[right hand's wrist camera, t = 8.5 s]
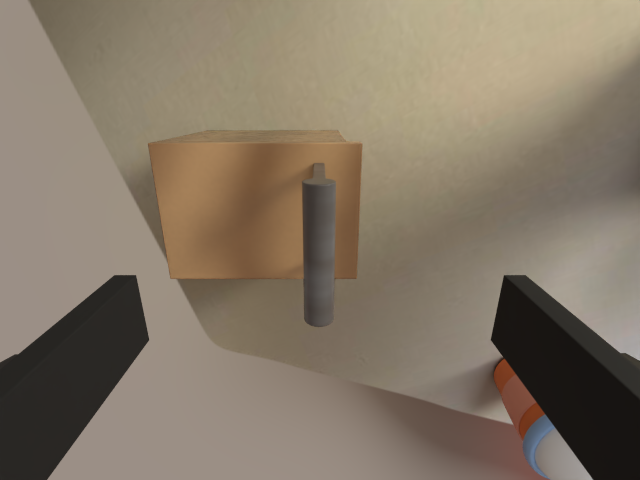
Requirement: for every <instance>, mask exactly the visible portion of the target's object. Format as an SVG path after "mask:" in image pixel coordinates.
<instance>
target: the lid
mask: <svg viewBox="0 0 640 480" xmlns="http://www.w3.org/2000/svg"><path fill="white" fill-rule="evenodd" d="M148 147H149V153H150V159H151V165H152V171H153V177H154V183H155V189H156V195H157V201H158V207H159V213H160V219H161V225H162V231H163V237H164V243H165V249H166V255H167V261H168V267H169V273H170V278H171V279H304V319H305V321H306V323H307V324H309V325H311V326H315V327H323V326H327V325H329V324H331V323H332V322H333V320H334V280H335V279H356V278H357V260H358V235H359V211H360V186H361V162H362V143H361V142H152V143H148Z"/></svg>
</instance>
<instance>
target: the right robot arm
mask: <svg viewBox="0 0 640 480" xmlns="http://www.w3.org/2000/svg"><path fill="white" fill-rule="evenodd" d="M148 341H149V337H148V332H147V327H146V322H145V317H144V312H143V307H142V303H141V298H140V293H139V288H138V283H137V278H136V275H115V276H113V277H112V278H111V279H109V280H108V281H107V282H106V283H105V284H103V285H102V286H101V287H100V288H98V289H97V290H96V291H95V292H94V293H92V294H91V295H90V296H89V297H88V298H86V299H85V300H84V301H83V302H81V303H80V304H79V305H78V306H77V307H75V308H74V309H73V310H72V311H71V312H69V313H68V314H67V315H66V316H64V317H63V318H62V319H61V320H60V321H58V322H57V323H56V324H55V325H53V326H52V327H51V328H50V329H49V330H47V331H46V332H45V333H44V334H43V335H41V336H40V337H39V338H38V339H36V340H35V341H34V342H33V343H32V344H30V345H29V346H28V347H27V348H26V349H24V350H23V351H22V352H21V353H19V354H18V355H13V356H11V357H9V358H8V359H6V360H4V361H2V362H0V480H47V479H48V477H49V476H50V475H51V473H52V472H53V471H54V469H55V468H56V467H57V465H58V464H59V462H60V461H61V460H62V458H63V457H64V456H65V454H66V453H67V451H68V450H69V449H70V448H71V446H72V445H73V443H74V442H75V441H76V439H77V438H78V437H79V435H80V434H81V432H82V431H83V430H84V428H85V427H86V426H87V424H88V423H89V422H90V420H91V419H92V417H93V416H94V415H95V413H96V412H97V411H98V409H99V408H100V406H101V405H102V404H103V402H104V401H105V400H106V398H107V397H108V396H109V394H110V393H111V391H112V390H113V389H114V387H115V386H116V385H117V383H118V382H119V381H120V379H121V378H122V376H123V375H124V374H125V372H126V371H127V370H128V368H129V367H130V365H131V364H132V363H133V361H134V360H135V359H136V357H137V356H138V355H139V353H140V352H141V350H142V349H143V348H144V346H145V345H146V344H147V342H148ZM491 341H492V342H493V344H494V345H495V346H496V348H497V349H498V350H499V352H500V353H501V355H502V356H503V357H504V359H505V360H506V361H507V363H508V364H509V365H510V367H511V368H512V370H513V371H514V372H515V374H516V375H517V376H518V378H519V379H520V381H521V382H522V383H523V385H524V386H525V387H526V389H527V390H528V391H529V393H530V394H531V396H532V397H533V398H534V400H535V401H536V402H537V404H538V405H539V406H540V408H541V409H542V411H543V412H544V413H545V415H546V416H547V417H548V419H549V420H550V422H551V423H552V424H553V426H554V427H555V428H556V430H557V431H558V432H559V434H560V435H561V437H562V438H563V439H564V441H565V442H566V443H567V445H568V446H569V448H570V449H571V450H572V452H573V453H574V454H575V456H576V457H577V458H578V460H579V461H580V463H581V464H582V465H583V467H584V468H585V469H586V471H587V472H588V473H589V475H590V476H591V478H592V479H593V480H640V361H639V360H637V359H635V358H633V357H631V356H630V355H628V354H626V353H619V352H618V351H617V350H616V349H614V348H613V347H612V346H611V345H610V344H608V343H607V342H606V341H605V340H604V339H602V338H601V337H600V336H599V335H597V334H596V333H595V332H594V331H593V330H591V329H590V328H589V327H588V326H587V325H585V324H584V323H583V322H582V321H580V320H579V319H578V318H577V317H576V316H574V315H573V314H572V313H571V312H569V311H568V310H567V309H566V308H565V307H563V306H562V305H561V304H560V303H559V302H557V301H556V300H555V299H554V298H552V297H551V296H550V295H549V294H548V293H546V292H545V291H544V290H543V289H542V288H540V287H539V286H538V285H537V284H535V283H534V282H533V281H532V280H531V279H529V278H528V277H527V276H526V275H504V278H503V283H502V288H501V293H500V298H499V302H498V307H497V312H496V317H495V322H494V327H493V332H492V337H491Z"/></svg>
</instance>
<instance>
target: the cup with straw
mask: <svg viewBox="0 0 640 480" xmlns="http://www.w3.org/2000/svg"><path fill="white" fill-rule="evenodd" d="M494 381H495V383H496V386H497V388H498V390H499V392H500V394H501V396H502V401H503V403H504V406H505V408H506V410H507V412H508V414H509V416H510V418H511V420H512V422H513V424H514V426H515V428H516V430H517V432H518V434H519V436H520V438H521V439H522V441H523V452H524V456H525V458H526V460H527V462H528V463H529V465H530V466H531V467H532V468H533V469H534V470H535V471H536V472H537V473H538V474H540V475H541V476H543V477H545V478H547V479H551V480H593V479H592V478H591V476H590V475H589V473H588V472H587V471H586V469H585V468H584V467H583V465H582V464H581V463H580V461H579V460H578V458H577V457H576V456H575V454H574V453H573V452H572V450H571V449H570V448H569V446H568V445H567V443H566V442H565V441H564V439H563V438H562V437H561V435H560V434H559V432H558V431H557V430H556V428H555V427H554V426H553V424H552V423H551V422H550V420H549V419H548V417H547V416H546V415H545V413H544V412H543V411H542V409H541V408H540V406H539V405H538V404H537V402H536V401H535V400H534V398H533V397H532V396H531V394H530V393H529V391H528V390H527V389H526V387H525V386H524V385H523V383H522V382H521V381H520V379H519V378H518V376H517V375H516V374H515V372H514V371H513V370H512V368H511V367H510V365H509V364H508V363H507V361H506V360H505V359H503V360H502V361H501V362H500V363H499V364H498V365H497V367H496V369H495V372H494Z"/></svg>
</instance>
